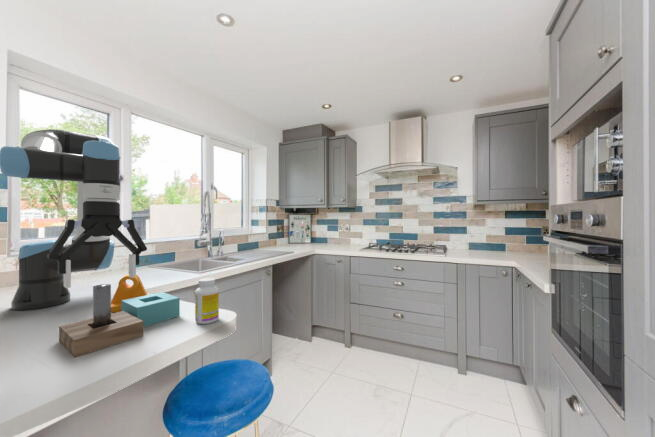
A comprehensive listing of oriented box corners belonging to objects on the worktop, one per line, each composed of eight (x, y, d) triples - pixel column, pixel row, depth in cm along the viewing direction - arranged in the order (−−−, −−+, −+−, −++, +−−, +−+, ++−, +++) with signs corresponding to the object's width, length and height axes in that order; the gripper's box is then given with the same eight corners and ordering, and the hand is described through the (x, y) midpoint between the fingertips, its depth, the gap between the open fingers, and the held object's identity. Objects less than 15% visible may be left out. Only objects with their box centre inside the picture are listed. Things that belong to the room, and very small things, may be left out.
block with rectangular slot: (121, 319, 85) (121, 300, 85) (162, 309, 95) (162, 291, 95) (137, 328, 78) (136, 307, 78) (179, 316, 88) (179, 297, 88)
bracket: (106, 315, 89) (106, 279, 89) (112, 309, 95) (112, 274, 95) (145, 310, 94) (145, 276, 94) (148, 304, 100) (148, 272, 100)
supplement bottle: (223, 318, 86) (223, 278, 86) (207, 326, 80) (207, 282, 80) (206, 315, 88) (206, 276, 88) (190, 323, 82) (190, 281, 82)
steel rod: (91, 339, 71) (91, 286, 71) (108, 334, 74) (108, 283, 74) (95, 342, 69) (95, 288, 69) (113, 337, 72) (112, 285, 72)
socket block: (59, 341, 70) (59, 326, 70) (123, 324, 82) (123, 310, 81) (74, 357, 62) (74, 339, 62) (143, 335, 73) (143, 321, 73)
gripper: (36, 197, 59) (36, 294, 59) (159, 202, 80) (159, 275, 80) (29, 199, 64) (29, 289, 63) (148, 203, 84) (148, 272, 84)
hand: (102, 281), depth 72 cm, fingers open, 13 cm apart
